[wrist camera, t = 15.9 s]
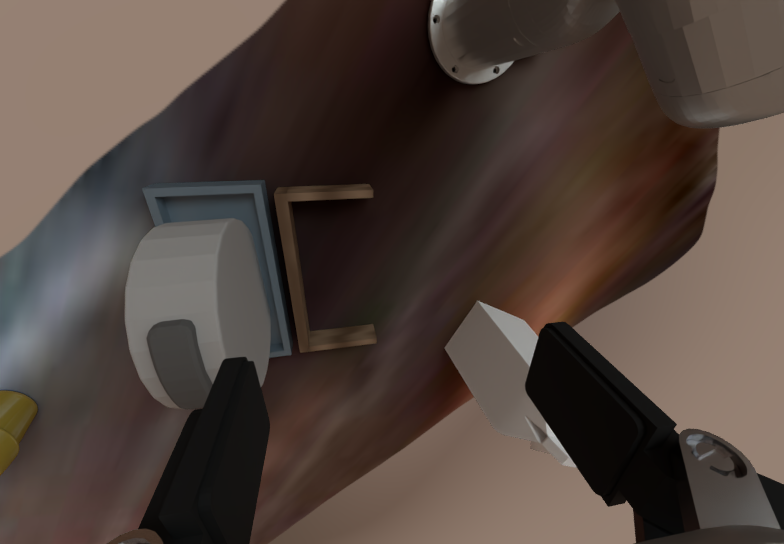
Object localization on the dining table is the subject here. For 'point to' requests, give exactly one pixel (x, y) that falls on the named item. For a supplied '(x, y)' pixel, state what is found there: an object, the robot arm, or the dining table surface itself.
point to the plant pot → (13, 424)
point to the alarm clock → (195, 308)
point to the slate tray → (236, 203)
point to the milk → (502, 375)
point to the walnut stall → (292, 261)
